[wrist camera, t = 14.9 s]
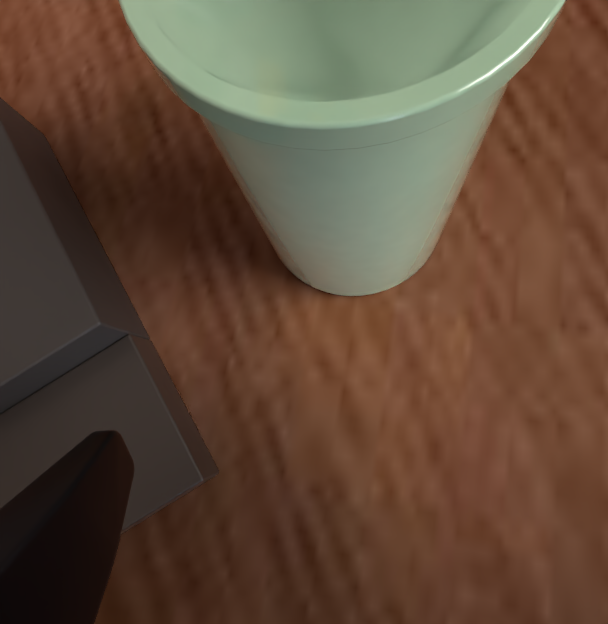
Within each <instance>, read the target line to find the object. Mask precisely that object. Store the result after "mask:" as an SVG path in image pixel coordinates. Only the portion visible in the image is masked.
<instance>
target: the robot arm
mask: <svg viewBox="0 0 608 624" xmlns="http://www.w3.org/2000/svg"><path fill="white" fill-rule="evenodd" d="M133 477H134V461H133V459H132V457H131V454H130V452H129V450H128V448H127V446H126V444H125V442H124V440H123V438H122V436H121V434H120V433H119V432H118V431H115V430H107V431H95V432H93V433H91V434H90V435H88V436H87V437H86V438H85V439H84V440H82V441H81V442H80V443H79V444H78V445H76V446H75V447H74V448H73V449H72V450H70V451H69V452H68V453H67V454H66V455H64V456H63V457H62V458H61V459H60V460H58V461H57V462H56V463H55V464H53V465H52V466H51V467H50V468H49V469H47V470H46V471H45V472H44V473H43V474H41V475H40V476H39V477H38V478H37V479H35V480H34V481H33V482H32V483H31V484H29V485H28V486H27V487H26V488H25V489H23V490H22V491H21V492H20V493H19V494H17V495H16V496H15V497H14V498H13V499H11V500H10V501H9V502H8V503H7V504H5V505H4V506H3V507H2V508H1V509H0V624H94V622H95V619H96V616H97V613H98V610H99V607H100V604H101V601H102V598H103V595H104V592H105V589H106V586H107V583H108V580H109V577H110V574H111V570H112V567H113V564H114V561H115V557H116V553H117V549H118V545H119V540H120V536H121V531H122V527H123V522H124V518H125V513H126V509H127V504H128V500H129V495H130V490H131V486H132V481H133Z"/></svg>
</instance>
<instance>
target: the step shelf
mask: <svg viewBox="0 0 608 624" xmlns="http://www.w3.org/2000/svg"><path fill="white" fill-rule="evenodd" d="M107 430H115V431H118V432H119V433H120V434H121V436H122V438H123V440H124V442H125V444H126V446H127V448H128V450H129V452H130V454H131V457H132V459H133V461H134V477H133V481H132V486H131V490H130V495H129V500H128V504H127V509H126V513H125V518H124V522H123V527H122V531H121V534H123V533H124V532H126V531H128V530H129V529H131V528H132V527H134V526H136V525H137V524H139V523H140V522H142V521H144V520H145V519H147V518H149V517H150V516H152V515H153V514H155V513H157V512H158V511H160V510H161V509H163V508H165V507H166V506H168V505H169V504H171V503H173V502H174V501H176V500H178V499H179V498H181V497H182V496H184V495H186V494H187V493H189V492H190V491H192V490H194V489H195V488H197V487H198V486H200V485H202V484H203V483H205V482H206V481H208V480H210V479H211V478H213V477H215V476H216V475H218V473H219V470H218V468H217V466H216V464H215V463H214V461H213V459H212V457H211V455H210V453H209V451H208V449H207V447H206V445H205V443H204V441H203V439H202V438H201V436H200V434H199V432H198V430H197V428H196V426H195V424H194V422H193V420H192V418H191V416H190V414H189V413H188V411H187V409H186V407H185V405H184V403H183V401H182V399H181V397H180V395H179V393H178V391H177V389H176V388H175V386H174V384H173V382H172V380H171V378H170V376H169V374H168V372H167V370H166V368H165V366H164V364H163V363H162V361H161V359H160V357H159V355H158V353H157V351H156V349H155V347H154V345H153V343H152V342H151V341H150V338H149V336H148V334H147V332H146V330H145V328H144V326H143V324H142V322H141V320H140V318H139V317H138V315H137V313H136V311H135V309H134V307H133V305H132V303H131V301H130V299H129V297H128V295H127V293H126V292H125V290H124V288H123V286H122V284H121V282H120V280H119V278H118V276H117V274H116V272H115V270H114V268H113V267H112V265H111V263H110V261H109V259H108V257H107V255H106V253H105V251H104V249H103V247H102V245H101V243H100V242H99V240H98V238H97V236H96V234H95V232H94V230H93V228H92V226H91V224H90V222H89V220H88V218H87V217H86V215H85V213H84V211H83V209H82V207H81V205H80V203H79V201H78V199H77V197H76V195H75V193H74V192H73V190H72V188H71V186H70V184H69V182H68V180H67V178H66V176H65V174H64V172H63V170H62V168H61V167H60V165H59V163H58V161H57V159H56V157H55V155H54V153H53V151H52V149H51V147H50V145H49V143H48V142H47V140H46V138H45V136H44V134H42V133H41V132H40V131H39V130H38V129H37V128H35V127H34V126H33V125H32V124H31V123H30V122H28V121H27V120H26V119H25V118H24V117H23V116H21V115H20V114H19V113H18V112H17V111H15V110H14V109H13V108H12V107H11V106H10V105H8V104H7V103H6V102H5V101H4V100H3V99H1V98H0V509H1V508H2V507H3V506H4V505H5V504H7V503H8V502H9V501H10V500H11V499H13V498H14V497H15V496H16V495H17V494H19V493H20V492H21V491H22V490H23V489H25V488H26V487H27V486H28V485H29V484H31V483H32V482H33V481H34V480H35V479H37V478H38V477H39V476H40V475H41V474H43V473H44V472H45V471H46V470H47V469H49V468H50V467H51V466H52V465H53V464H55V463H56V462H57V461H58V460H60V459H61V458H62V457H63V456H64V455H66V454H67V453H68V452H69V451H70V450H72V449H73V448H74V447H75V446H76V445H78V444H79V443H80V442H81V441H82V440H84V439H85V438H86V437H87V436H88V435H90V434H91V433H93V432H95V431H107Z"/></svg>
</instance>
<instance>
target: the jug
mask: <svg viewBox="0 0 608 624" xmlns="http://www.w3.org/2000/svg"><path fill="white" fill-rule="evenodd" d="M118 2H119V4H120V7H121V10H122V12H123V15H124V18H125V20H126V23H127V25H128V27H129V29H130V31H131V32H132V34H133V36H134V38H135V39H136V41H137V43H138V45H139V46H140V48H141V50H142V51H143V53H144V54H145V56H146V58H147V59H148V61H149V62H150V64H151V66H152V67H153V69H154V70H155V72H156V73H157V74H158V75H159V76H160V78H161V79H162V80H163V81H164V83H165V84H166V85H167V86H168V88H169V89H170V90H171V91H172V92H173V93H175V94H176V95H177V96H178V97H179V98H180V99H181V100H182V101H183V102H184V103H186V104H187V105H188V106H189V107H190V108H192V109H193V110H195V111H196V112H197V113H198V115H199V116H200V118H201V120H202V122H203V123H204V125H205V127H206V129H207V130H208V132H209V134H210V136H211V138H212V139H213V141H214V143H215V145H216V146H217V148H218V150H219V152H220V154H221V155H222V157H223V159H224V161H225V162H226V164H227V166H228V168H229V170H230V171H231V173H232V175H233V177H234V178H235V180H236V182H237V184H238V186H239V187H240V189H241V191H242V193H243V194H244V196H245V198H246V200H247V202H248V203H249V205H250V207H251V209H252V210H253V212H254V214H255V216H256V218H257V219H258V221H259V223H260V225H261V226H262V228H263V230H264V232H265V233H266V235H267V237H268V239H269V241H270V242H271V244H272V246H273V248H274V249H275V251H276V253H277V255H278V256H279V258H280V260H281V261H282V262H283V263H284V265H285V266H286V267H287V268H288V269H289V270H290V271H291V272H292V273H293V274H294V275H295V276H296V277H298V278H299V279H300V280H302V281H303V282H305V283H307V284H308V285H310V286H312V287H314V288H316V289H319V290H322V291H324V292H328V293H332V294H336V295H345V296H362V295H369V294H374V293H378V292H381V291H385V290H387V289H389V288H392V287H394V286H396V285H398V284H400V283H401V282H403V281H405V280H406V279H408V278H409V277H410V276H412V275H413V274H414V273H416V272H417V271H418V270H419V269H420V267H421V266H422V265H423V264H424V263H425V262H426V261H427V259H428V258H429V257H430V255H431V254H432V252H433V250H434V249H435V247H436V245H437V243H438V241H439V238H440V236H441V234H442V232H443V229H444V227H445V225H446V223H447V220H448V218H449V216H450V214H451V211H452V209H453V207H454V205H455V202H456V200H457V198H458V196H459V193H460V191H461V189H462V187H463V184H464V182H465V180H466V178H467V175H468V173H469V171H470V169H471V166H472V164H473V162H474V160H475V157H476V155H477V153H478V151H479V148H480V146H481V144H482V142H483V139H484V137H485V135H486V133H487V130H488V128H489V126H490V124H491V121H492V119H493V117H494V115H495V113H496V110H497V108H498V106H499V104H500V101H501V99H502V97H503V95H504V92H505V90H506V88H507V86H508V83H509V81H510V79H511V78H512V77H513V76H514V75H515V74H516V73H517V72H518V71H519V70H520V69H521V68H522V67H523V66H524V65H525V64H526V63H527V62H528V61H529V60H530V59H531V57H532V56H533V55H534V54H535V52H536V51H537V50H538V48H539V47H540V46H541V44H542V43H543V42H544V41H545V39H546V38H547V36H548V35H549V33H550V31H551V29H552V28H553V26H554V24H555V22H556V21H557V19H558V17H559V15H560V13H561V12H562V10H563V8H564V6H565V4H566V2H567V0H118Z"/></svg>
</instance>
